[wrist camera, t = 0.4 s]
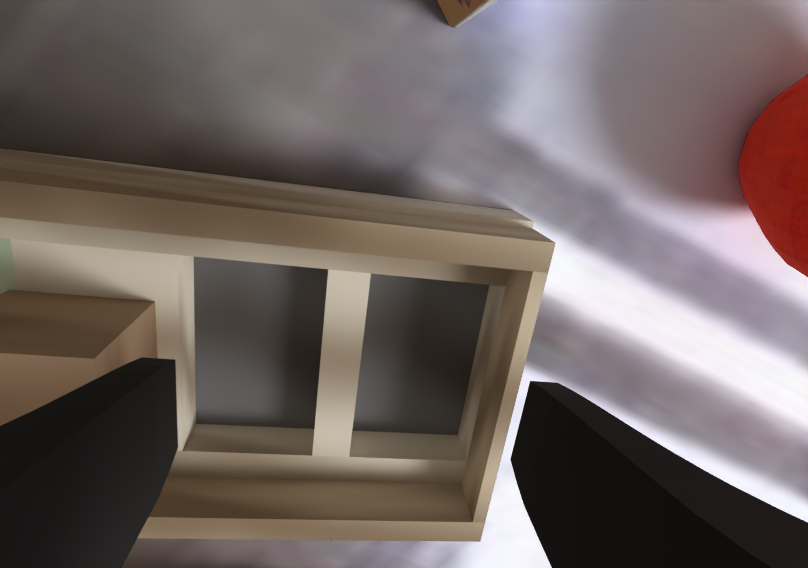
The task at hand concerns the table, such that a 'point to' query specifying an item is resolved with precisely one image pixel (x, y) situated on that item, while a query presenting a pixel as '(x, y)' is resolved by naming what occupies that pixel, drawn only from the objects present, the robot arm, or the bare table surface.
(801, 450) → the table surface
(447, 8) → the small box
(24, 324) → the walnut block
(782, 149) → the apple
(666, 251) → the table surface
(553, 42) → the table surface
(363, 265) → the box
